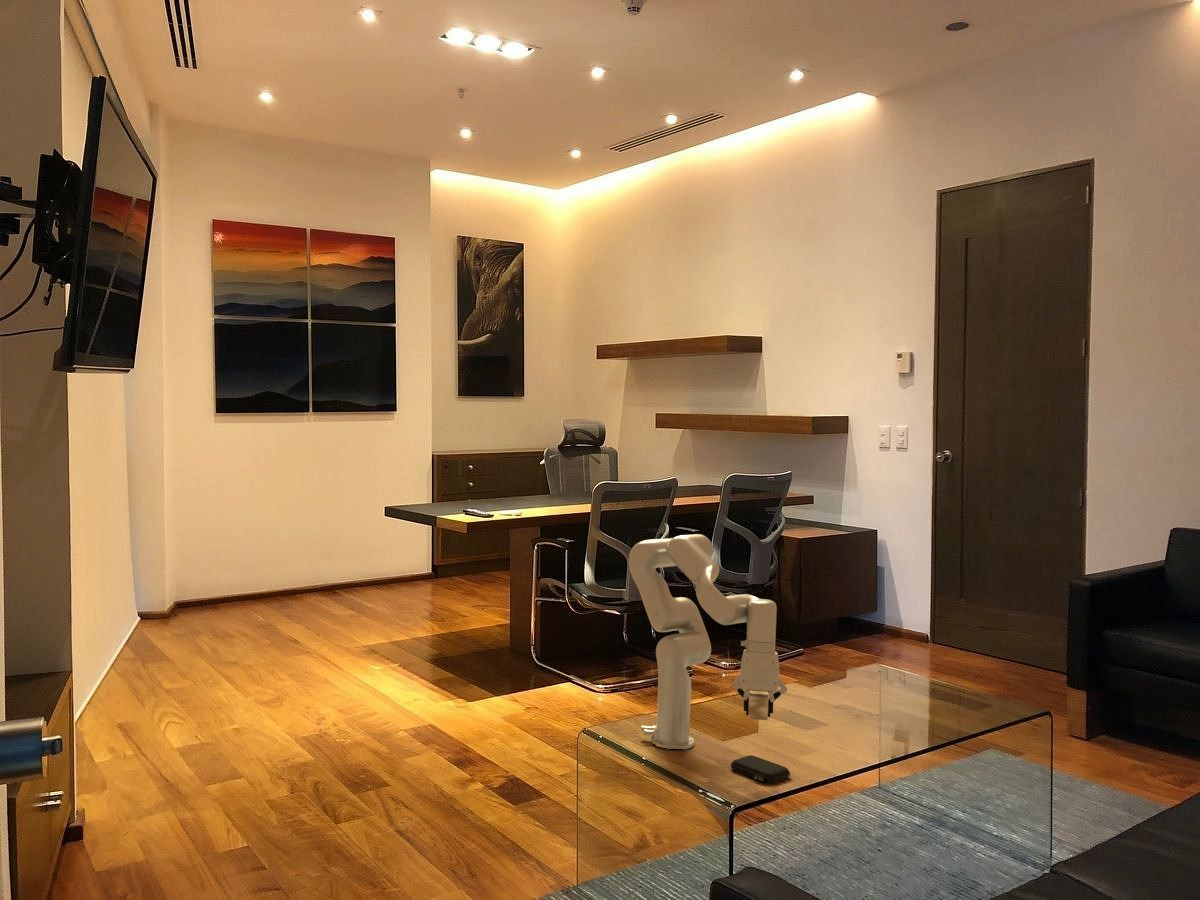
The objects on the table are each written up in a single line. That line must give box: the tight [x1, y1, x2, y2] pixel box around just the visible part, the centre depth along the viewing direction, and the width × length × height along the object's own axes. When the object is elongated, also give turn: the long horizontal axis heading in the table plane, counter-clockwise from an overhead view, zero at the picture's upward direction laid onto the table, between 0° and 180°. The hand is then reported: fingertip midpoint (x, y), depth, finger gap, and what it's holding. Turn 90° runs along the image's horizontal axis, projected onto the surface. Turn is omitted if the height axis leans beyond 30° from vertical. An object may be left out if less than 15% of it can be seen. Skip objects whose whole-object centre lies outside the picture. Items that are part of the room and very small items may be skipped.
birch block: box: [747, 690, 769, 721], centre depth 250 cm, size 5×5×6 cm
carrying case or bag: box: [730, 754, 791, 785], centre depth 251 cm, size 11×3×15 cm
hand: (758, 714), depth 250 cm, fingers closed on birch block, 5 cm apart
